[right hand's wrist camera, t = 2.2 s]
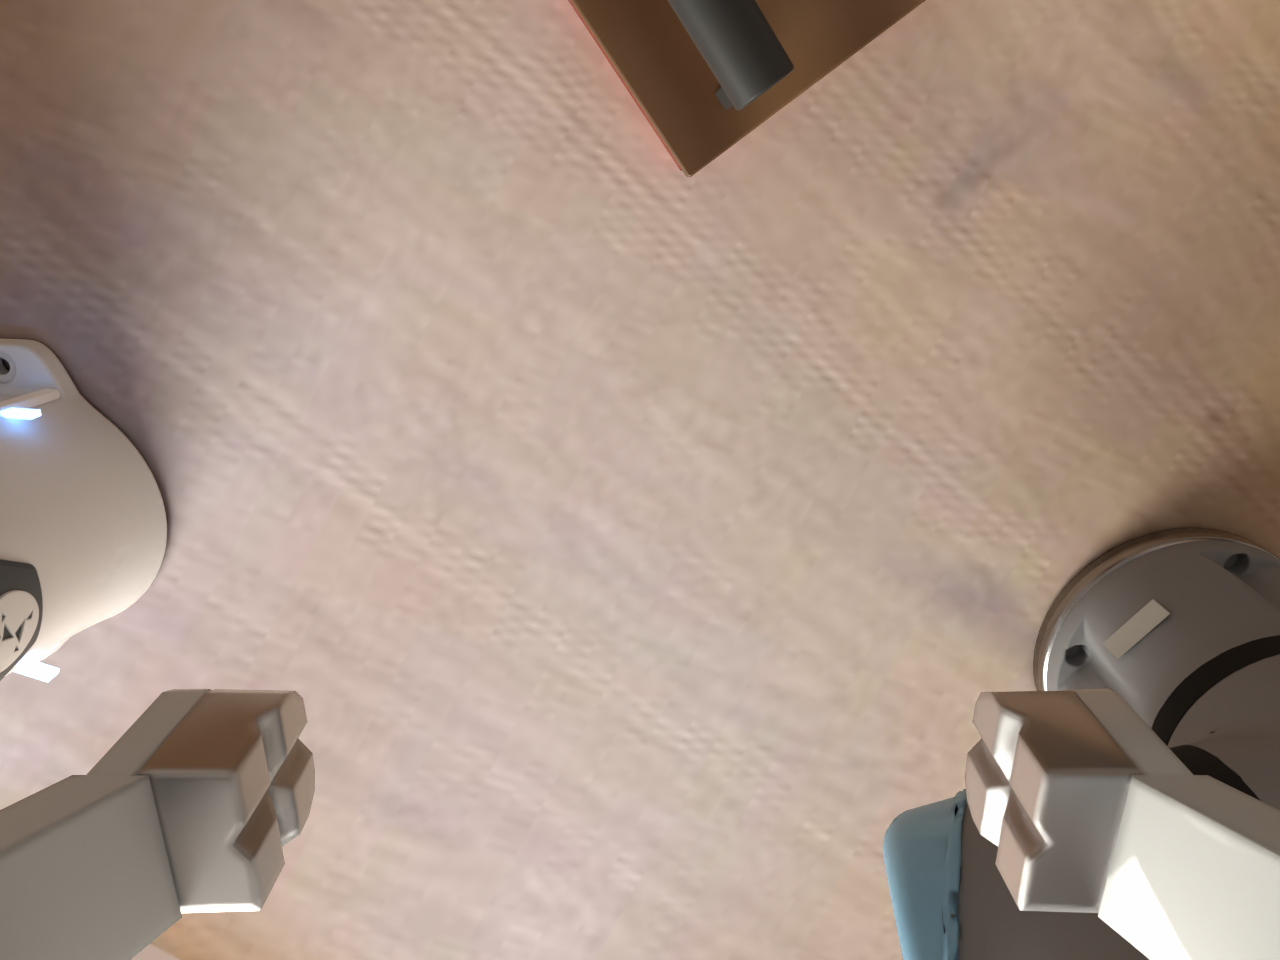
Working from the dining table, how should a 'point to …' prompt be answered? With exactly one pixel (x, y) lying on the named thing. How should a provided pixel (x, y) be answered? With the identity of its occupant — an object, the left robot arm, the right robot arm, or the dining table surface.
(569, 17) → the dining table surface
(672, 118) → the lid
